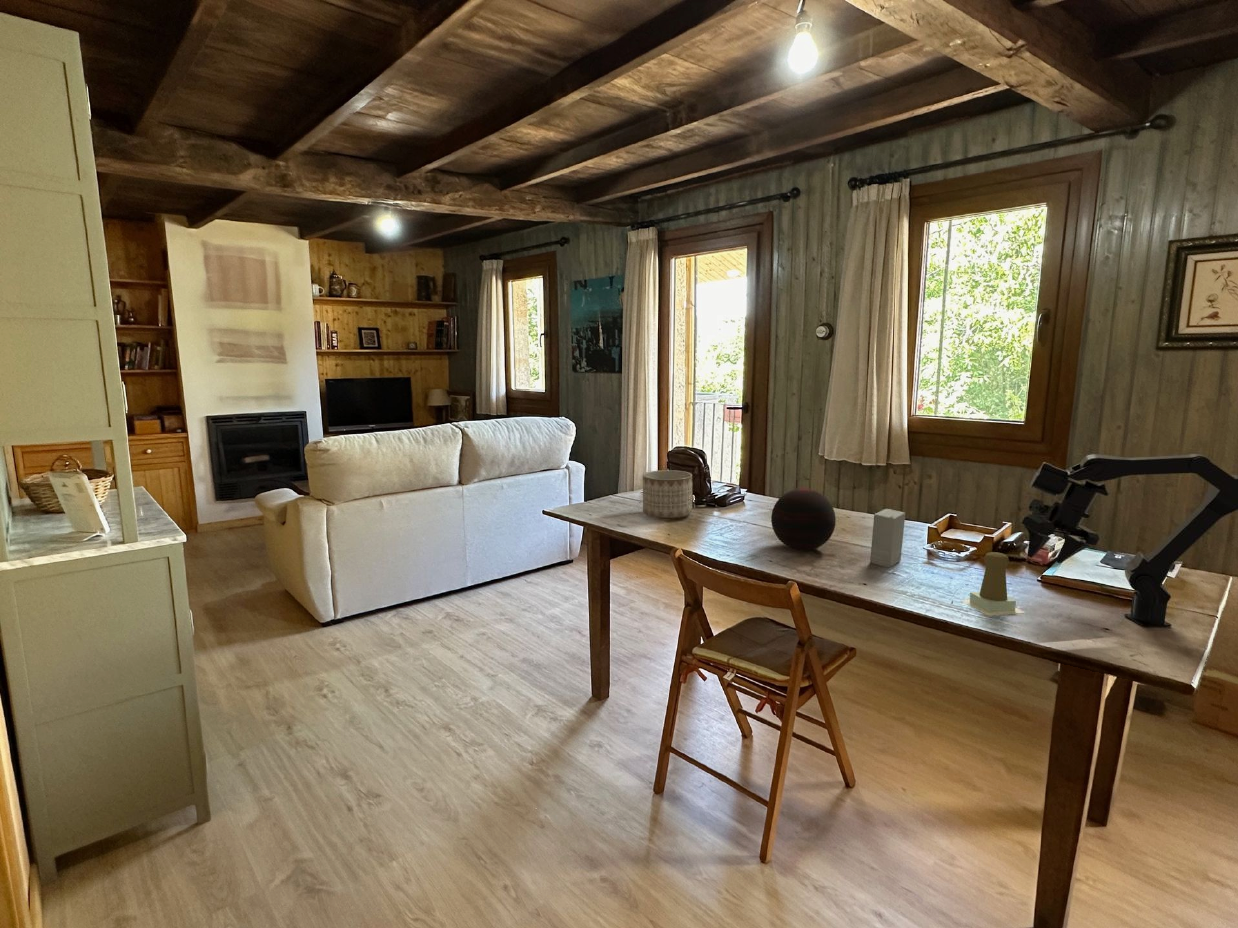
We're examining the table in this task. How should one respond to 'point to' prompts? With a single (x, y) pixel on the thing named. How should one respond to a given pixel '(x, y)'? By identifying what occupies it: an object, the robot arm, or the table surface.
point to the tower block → (992, 603)
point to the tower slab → (991, 612)
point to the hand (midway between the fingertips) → (1043, 559)
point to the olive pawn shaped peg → (995, 577)
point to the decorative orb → (803, 519)
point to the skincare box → (887, 537)
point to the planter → (667, 494)
